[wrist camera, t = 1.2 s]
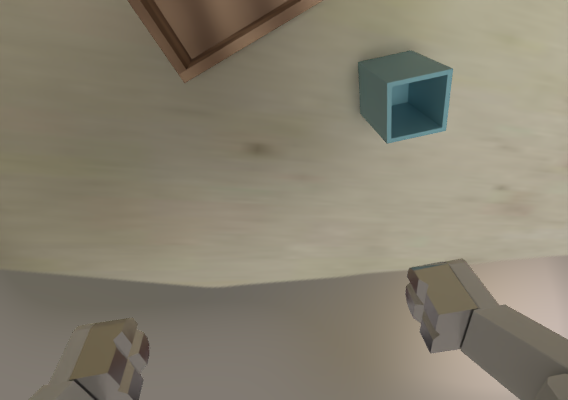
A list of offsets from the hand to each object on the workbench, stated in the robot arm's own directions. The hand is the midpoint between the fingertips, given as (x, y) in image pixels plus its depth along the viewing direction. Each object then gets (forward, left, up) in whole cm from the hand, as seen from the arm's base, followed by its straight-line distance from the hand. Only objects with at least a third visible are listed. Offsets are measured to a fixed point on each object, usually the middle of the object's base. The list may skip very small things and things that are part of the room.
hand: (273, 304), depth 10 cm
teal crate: (+12, -8, -29) cm, 32 cm away
